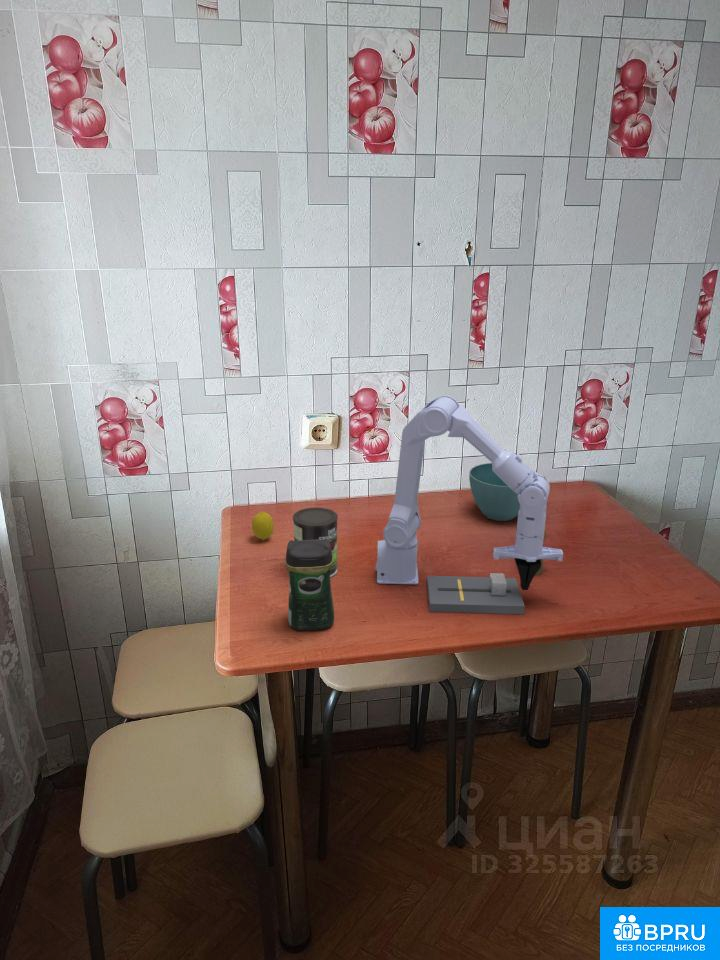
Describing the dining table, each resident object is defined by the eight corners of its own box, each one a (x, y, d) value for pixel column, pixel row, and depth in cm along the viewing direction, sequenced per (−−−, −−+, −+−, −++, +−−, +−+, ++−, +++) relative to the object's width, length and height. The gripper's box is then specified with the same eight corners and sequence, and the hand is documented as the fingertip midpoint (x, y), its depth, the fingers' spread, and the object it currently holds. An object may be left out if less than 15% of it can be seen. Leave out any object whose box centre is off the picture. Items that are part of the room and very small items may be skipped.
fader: (491, 595, 156) (492, 583, 155) (489, 585, 161) (490, 573, 159) (505, 595, 156) (506, 583, 155) (502, 585, 160) (503, 573, 159)
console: (429, 611, 154) (430, 603, 153) (427, 583, 165) (427, 575, 165) (523, 614, 154) (524, 605, 153) (514, 585, 165) (515, 577, 164)
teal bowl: (472, 498, 211) (475, 459, 207) (536, 506, 206) (540, 466, 202) (461, 523, 195) (463, 481, 191) (529, 533, 190) (533, 490, 186)
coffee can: (346, 568, 172) (346, 514, 167) (318, 585, 164) (317, 529, 159) (313, 555, 178) (312, 503, 172) (285, 571, 170) (283, 517, 165)
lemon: (248, 543, 184) (247, 514, 181) (258, 533, 189) (257, 506, 186) (268, 546, 182) (267, 517, 179) (277, 537, 187) (276, 508, 184)
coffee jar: (332, 610, 154) (332, 532, 148) (335, 631, 147) (334, 550, 140) (287, 612, 154) (284, 533, 147) (287, 633, 146) (284, 552, 139)
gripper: (498, 539, 149) (493, 596, 154) (569, 541, 149) (561, 598, 154) (493, 524, 156) (489, 579, 161) (561, 526, 155) (554, 581, 161)
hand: (524, 587), depth 158 cm, fingers closed
